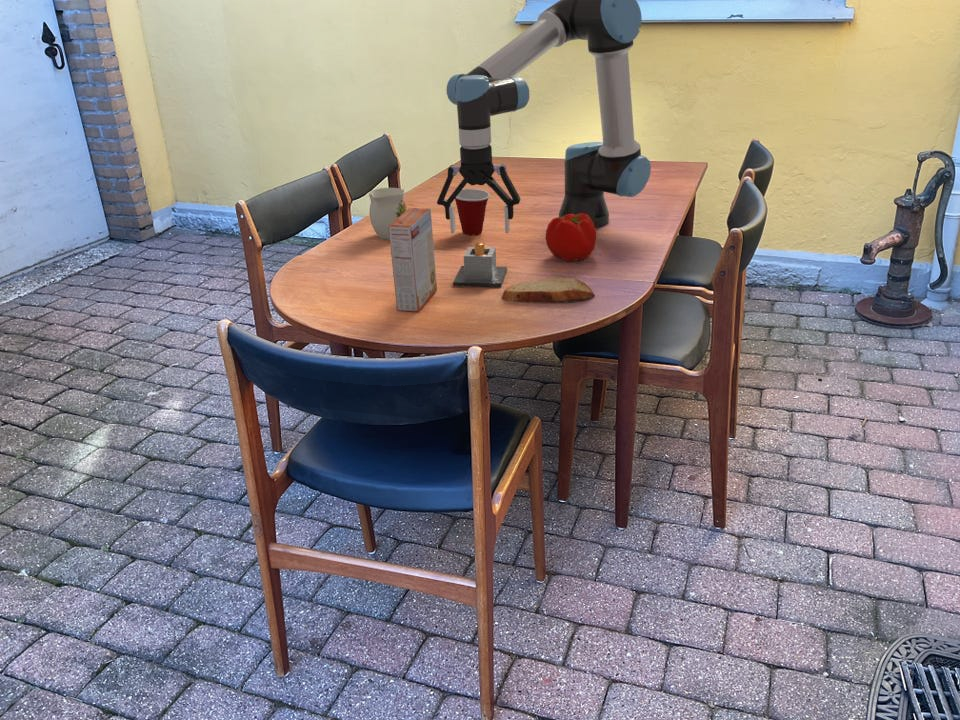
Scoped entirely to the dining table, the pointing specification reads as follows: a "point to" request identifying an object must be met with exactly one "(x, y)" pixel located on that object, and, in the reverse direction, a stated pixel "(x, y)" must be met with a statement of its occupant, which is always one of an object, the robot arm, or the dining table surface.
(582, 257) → the tomato
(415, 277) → the cracker box
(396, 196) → the pitcher
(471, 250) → the hollow gray block
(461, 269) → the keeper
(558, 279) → the bread slice
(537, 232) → the dining table surface
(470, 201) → the plastic cup
